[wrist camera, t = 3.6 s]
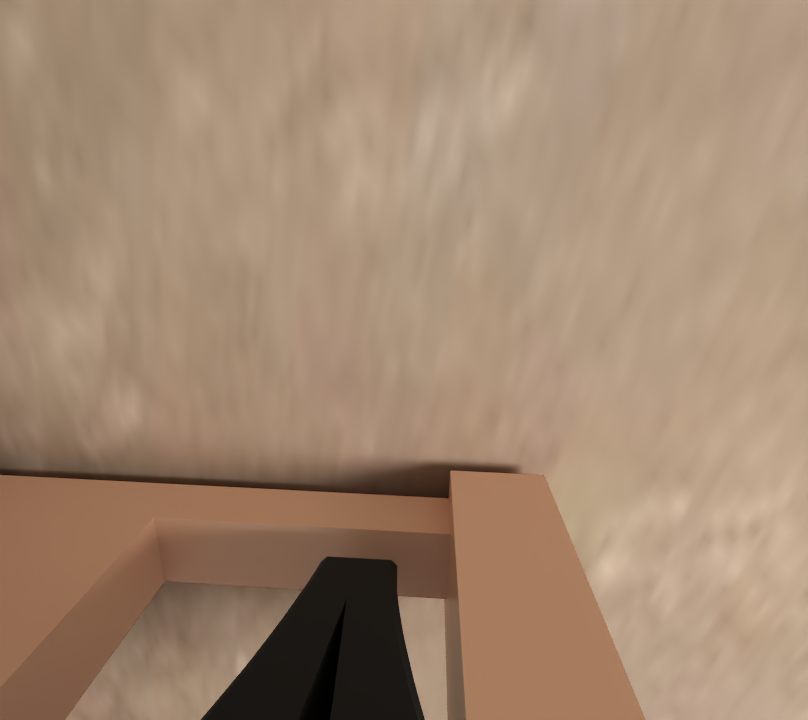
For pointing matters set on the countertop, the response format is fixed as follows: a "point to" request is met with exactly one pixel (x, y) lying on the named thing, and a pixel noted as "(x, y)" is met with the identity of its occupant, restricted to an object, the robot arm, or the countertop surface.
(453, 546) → the stepped wooden plank
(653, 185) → the countertop surface
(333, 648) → the robot arm
